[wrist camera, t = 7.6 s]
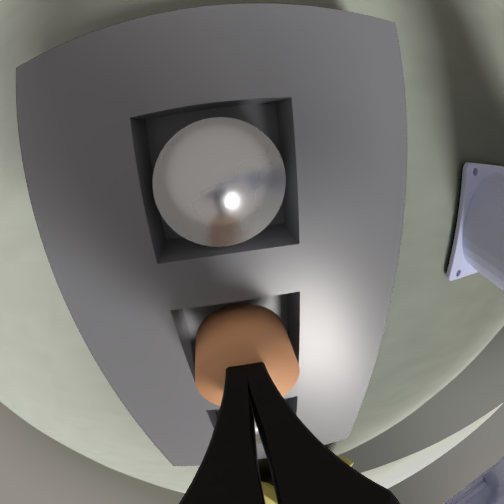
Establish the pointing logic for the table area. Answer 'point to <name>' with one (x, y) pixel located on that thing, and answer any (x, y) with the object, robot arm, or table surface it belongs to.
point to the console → (235, 256)
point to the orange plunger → (242, 348)
